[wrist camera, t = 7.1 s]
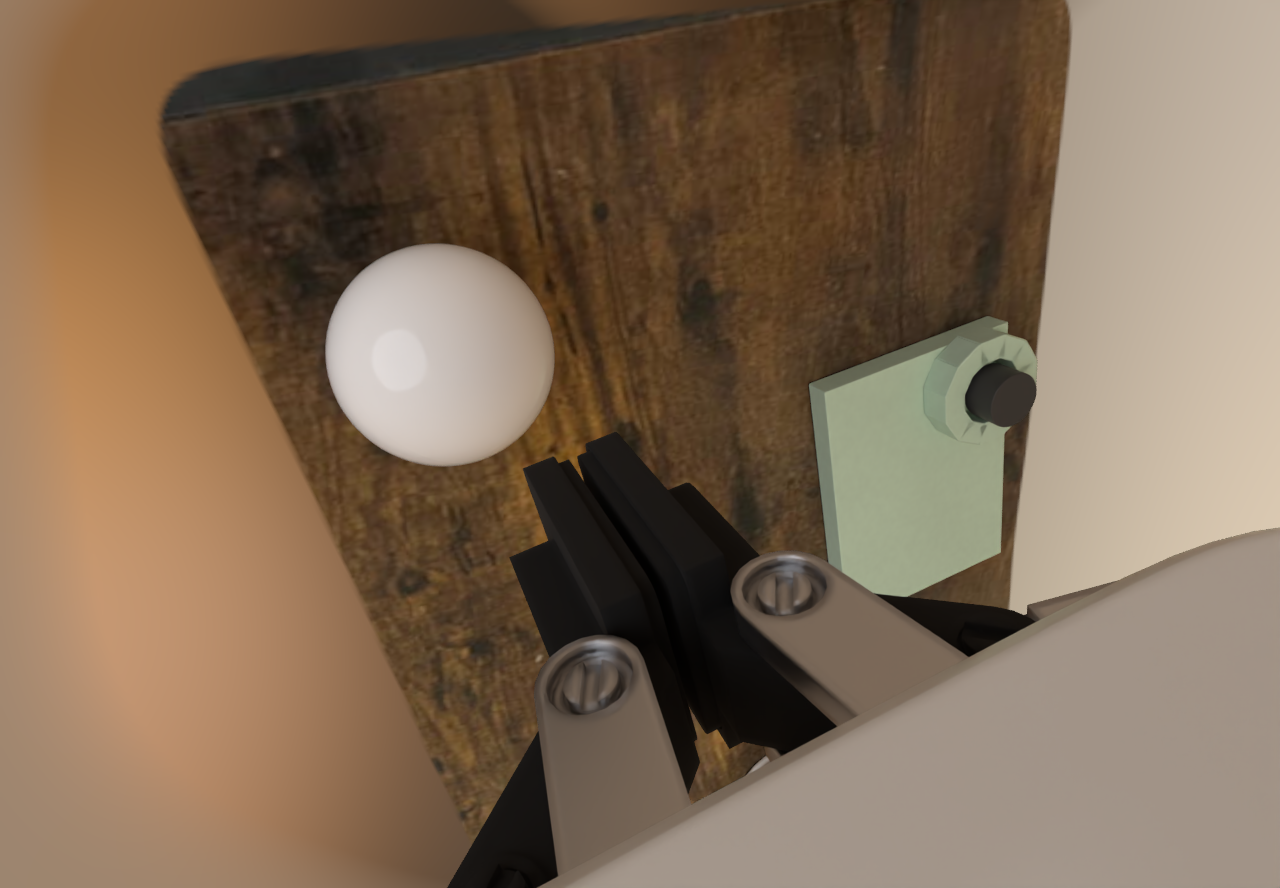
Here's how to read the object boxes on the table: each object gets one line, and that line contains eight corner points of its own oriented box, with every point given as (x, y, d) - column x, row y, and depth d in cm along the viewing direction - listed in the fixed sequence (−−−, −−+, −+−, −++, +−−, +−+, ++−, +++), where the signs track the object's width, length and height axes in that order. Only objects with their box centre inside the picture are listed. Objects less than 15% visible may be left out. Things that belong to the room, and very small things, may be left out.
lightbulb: (534, 290, 29) (627, 371, 20) (432, 408, 30) (476, 543, 20) (403, 173, 26) (439, 206, 17) (290, 309, 26) (264, 415, 17)
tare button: (964, 373, 36) (991, 384, 34) (1009, 355, 36) (1038, 365, 35) (964, 422, 37) (990, 435, 36) (1007, 404, 38) (1035, 416, 36)
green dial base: (807, 377, 36) (843, 397, 33) (993, 307, 38) (1040, 320, 36) (833, 611, 43) (864, 642, 40) (988, 539, 46) (1026, 564, 43)
